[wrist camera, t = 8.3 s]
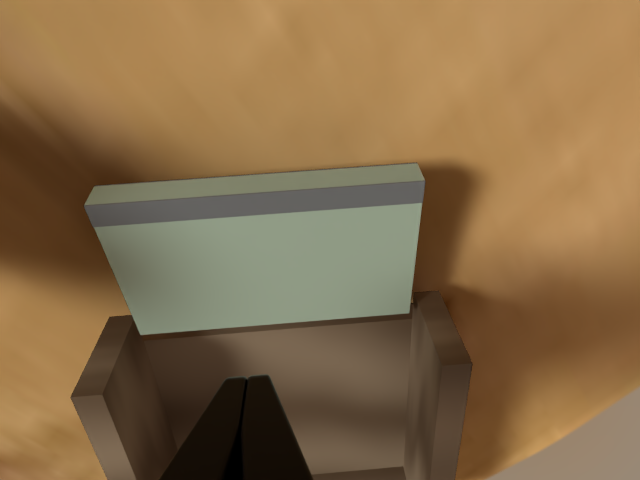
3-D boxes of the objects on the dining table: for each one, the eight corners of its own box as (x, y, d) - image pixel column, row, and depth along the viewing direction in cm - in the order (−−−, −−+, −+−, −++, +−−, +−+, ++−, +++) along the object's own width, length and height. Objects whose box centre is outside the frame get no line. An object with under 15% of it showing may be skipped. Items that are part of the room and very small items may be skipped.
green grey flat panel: (409, 314, 18) (425, 181, 15) (139, 336, 18) (83, 206, 14) (403, 293, 19) (417, 162, 15) (146, 314, 19) (94, 185, 15)
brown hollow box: (416, 459, 26) (442, 557, 22) (176, 480, 26) (155, 585, 22) (432, 276, 20) (472, 363, 16) (117, 301, 20) (70, 397, 15)
